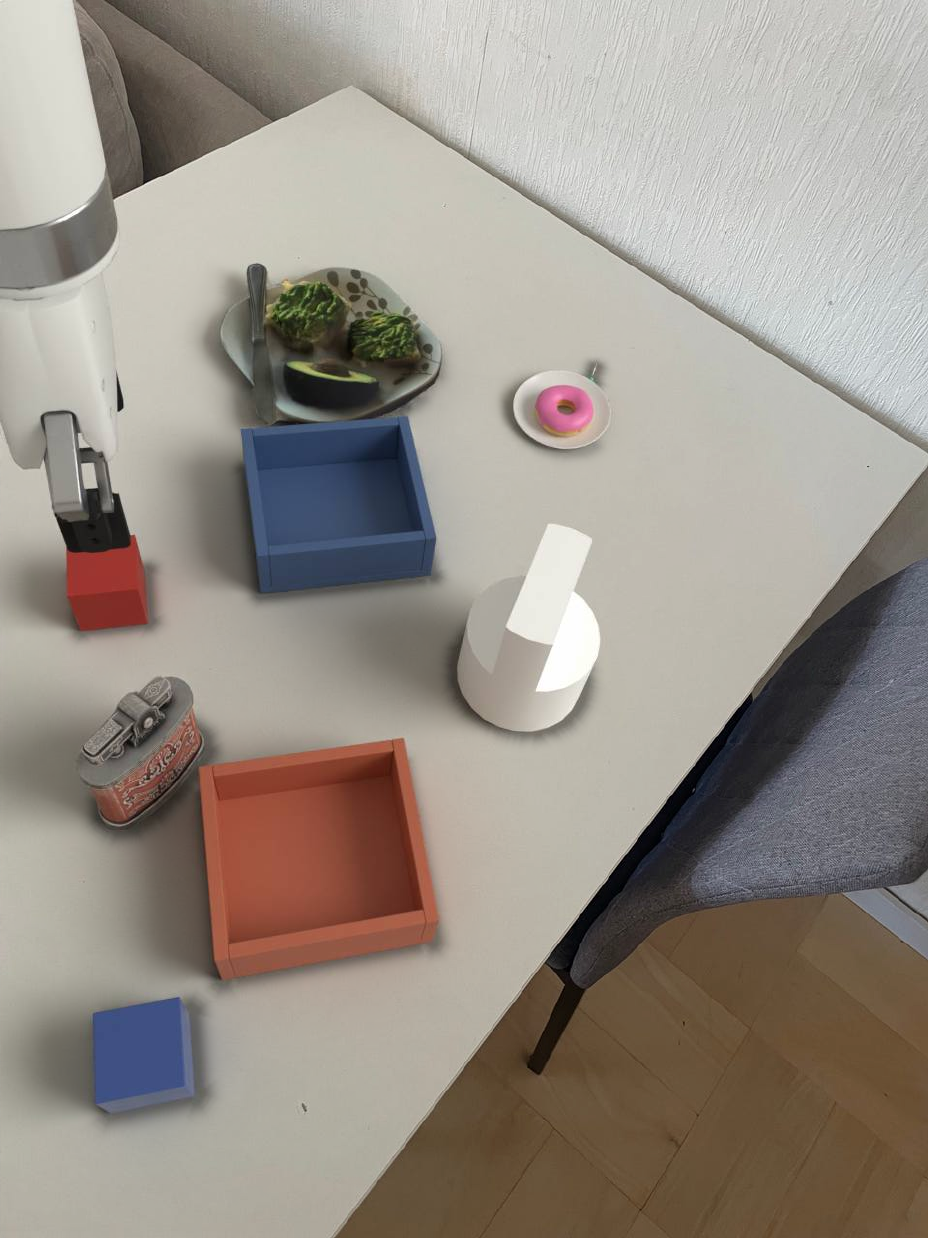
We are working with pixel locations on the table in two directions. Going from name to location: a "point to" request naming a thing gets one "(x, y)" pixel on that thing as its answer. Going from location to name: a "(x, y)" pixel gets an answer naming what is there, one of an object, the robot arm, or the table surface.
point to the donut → (562, 409)
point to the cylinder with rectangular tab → (531, 640)
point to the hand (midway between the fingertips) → (98, 474)
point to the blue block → (142, 1055)
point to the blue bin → (337, 504)
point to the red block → (107, 588)
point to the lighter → (142, 752)
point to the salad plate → (329, 346)
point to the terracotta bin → (314, 858)
